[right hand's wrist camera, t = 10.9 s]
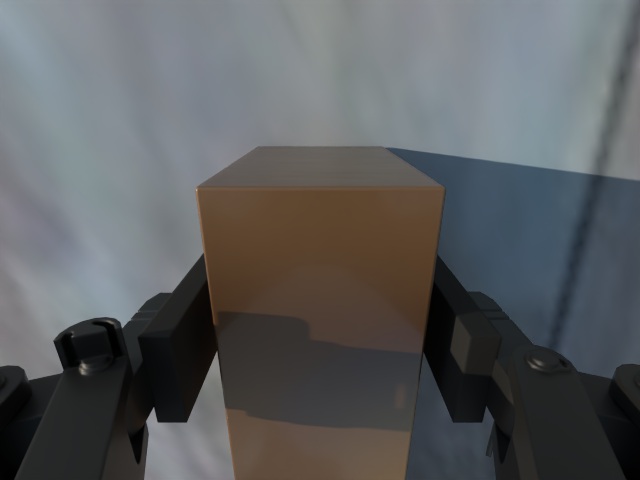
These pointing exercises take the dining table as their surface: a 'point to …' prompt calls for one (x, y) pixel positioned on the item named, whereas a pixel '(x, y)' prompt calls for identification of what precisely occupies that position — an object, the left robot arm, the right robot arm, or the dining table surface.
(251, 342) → the beam
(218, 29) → the dining table surface
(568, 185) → the dining table surface
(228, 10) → the dining table surface
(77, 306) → the dining table surface
